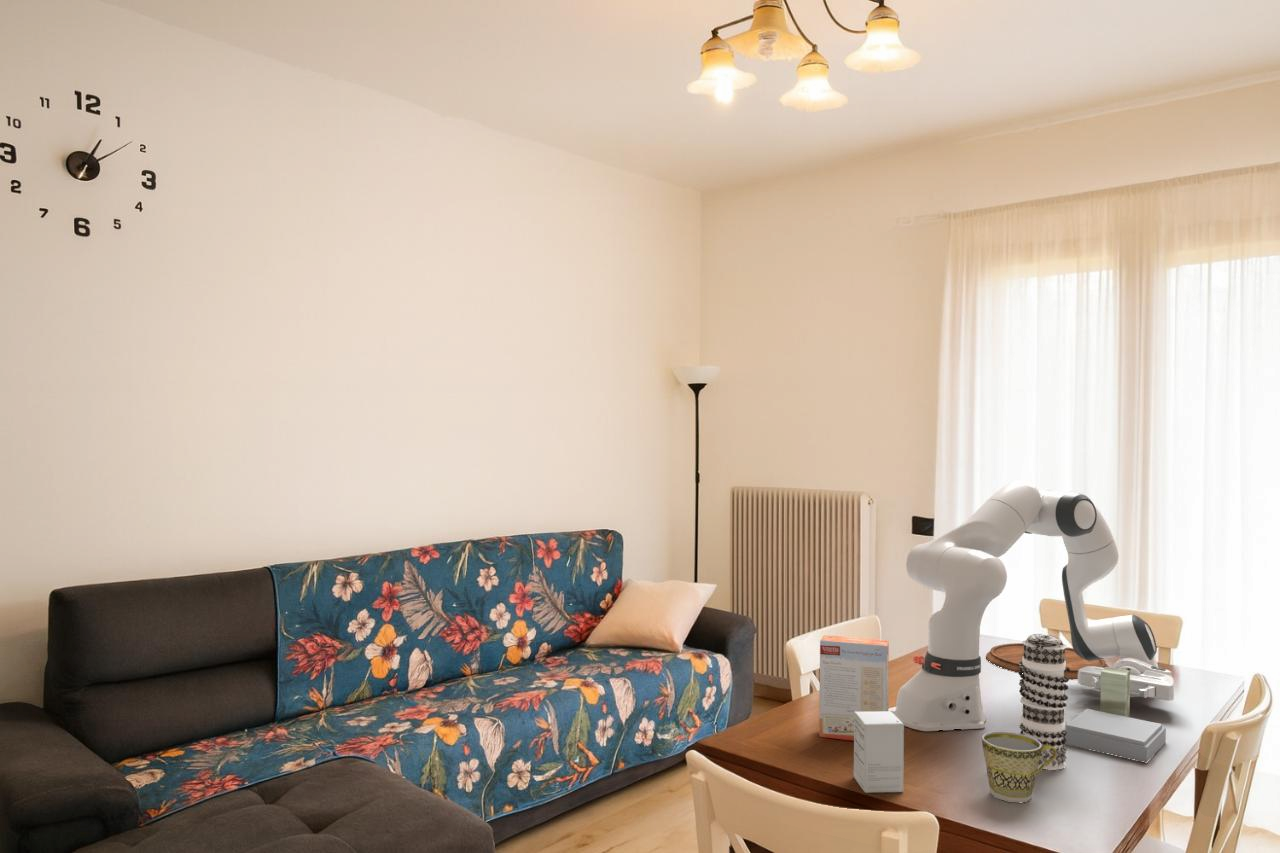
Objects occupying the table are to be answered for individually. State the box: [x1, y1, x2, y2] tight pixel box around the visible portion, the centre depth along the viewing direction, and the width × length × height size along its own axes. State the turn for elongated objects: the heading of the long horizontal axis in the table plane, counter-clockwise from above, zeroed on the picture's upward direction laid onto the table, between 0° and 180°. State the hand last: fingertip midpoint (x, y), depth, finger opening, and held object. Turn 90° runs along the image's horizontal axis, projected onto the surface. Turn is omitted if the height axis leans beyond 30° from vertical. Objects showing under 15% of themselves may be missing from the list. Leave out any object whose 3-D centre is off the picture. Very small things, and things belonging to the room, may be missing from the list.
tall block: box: [1099, 666, 1131, 718], centre depth 201 cm, size 5×5×12 cm
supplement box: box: [853, 711, 905, 794], centre depth 165 cm, size 7×7×13 cm
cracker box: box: [818, 634, 890, 742], centre depth 190 cm, size 14×6×21 cm, turn 70°
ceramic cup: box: [981, 730, 1057, 804], centre depth 161 cm, size 13×10×10 cm
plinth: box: [1064, 708, 1167, 762], centre depth 188 cm, size 16×16×4 cm
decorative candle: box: [1018, 633, 1070, 771], centre depth 177 cm, size 9×9×25 cm
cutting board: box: [985, 642, 1110, 681], centre depth 253 cm, size 32×32×2 cm
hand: (1119, 689), depth 206 cm, fingers open, 8 cm apart
